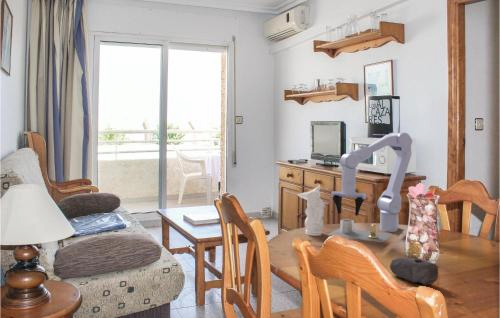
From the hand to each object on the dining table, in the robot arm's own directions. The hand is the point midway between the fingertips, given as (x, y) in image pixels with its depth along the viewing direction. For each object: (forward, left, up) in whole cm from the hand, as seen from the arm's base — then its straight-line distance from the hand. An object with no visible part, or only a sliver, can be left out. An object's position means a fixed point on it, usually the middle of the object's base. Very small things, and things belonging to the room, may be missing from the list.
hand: (348, 214), depth 185 cm
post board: (0, +5, -9) cm, 11 cm away
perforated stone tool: (+42, +34, -10) cm, 55 cm away
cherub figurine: (+8, -14, -10) cm, 19 cm away
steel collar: (-1, -1, -8) cm, 8 cm away
